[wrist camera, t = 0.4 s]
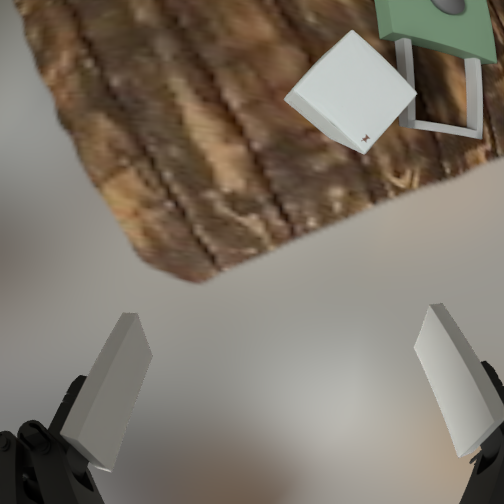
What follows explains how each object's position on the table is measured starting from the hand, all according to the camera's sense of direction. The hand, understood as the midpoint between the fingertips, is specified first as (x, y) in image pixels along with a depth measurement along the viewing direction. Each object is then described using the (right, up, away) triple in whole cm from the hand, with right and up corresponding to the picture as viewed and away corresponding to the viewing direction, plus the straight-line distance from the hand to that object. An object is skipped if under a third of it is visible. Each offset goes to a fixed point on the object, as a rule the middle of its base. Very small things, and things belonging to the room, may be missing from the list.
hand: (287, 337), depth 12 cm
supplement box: (+7, +21, +17) cm, 28 cm away
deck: (+21, +29, +12) cm, 38 cm away
